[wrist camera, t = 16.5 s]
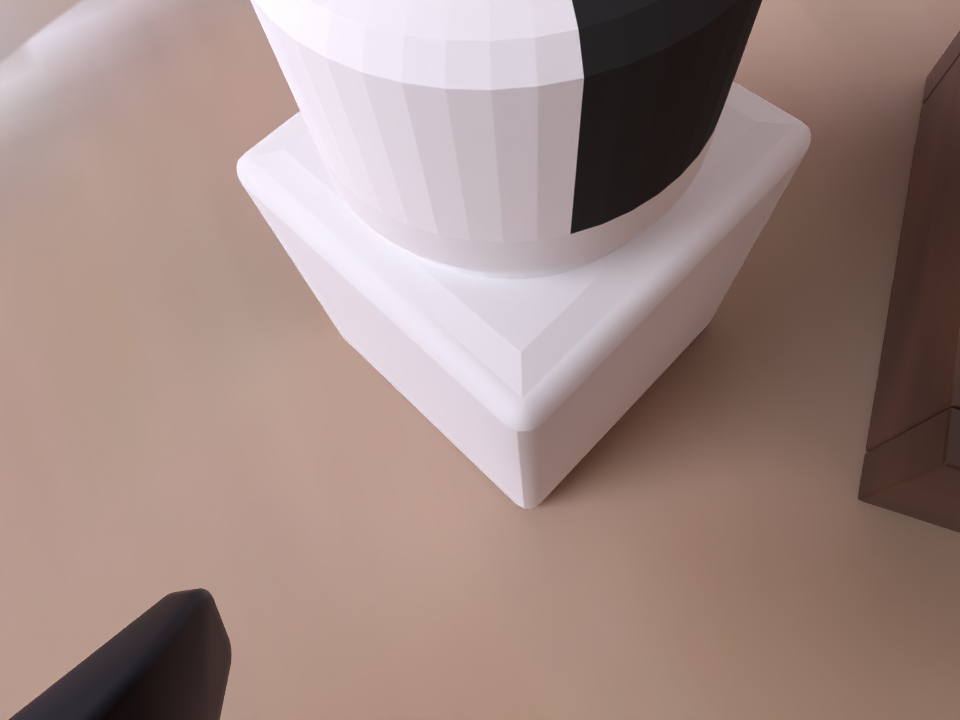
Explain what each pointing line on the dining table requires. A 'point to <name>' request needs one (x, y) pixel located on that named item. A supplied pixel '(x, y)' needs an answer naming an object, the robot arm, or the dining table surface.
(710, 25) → the medicine bottle
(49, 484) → the dining table surface
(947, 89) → the wooden holder
